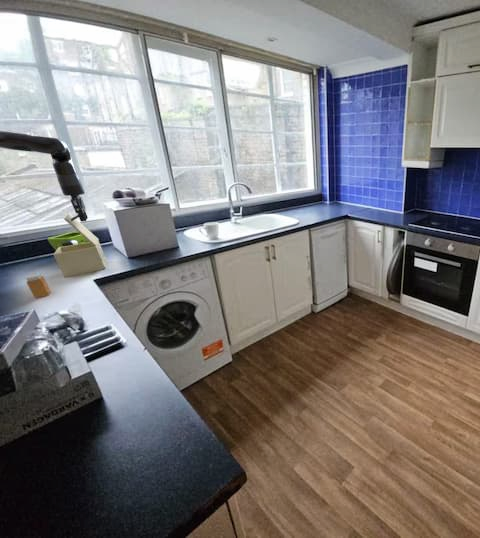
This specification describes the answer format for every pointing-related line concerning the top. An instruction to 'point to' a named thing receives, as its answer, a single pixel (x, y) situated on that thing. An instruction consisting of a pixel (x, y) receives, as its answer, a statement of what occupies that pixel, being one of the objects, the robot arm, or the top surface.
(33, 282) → the orange block
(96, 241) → the lid
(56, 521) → the top surface
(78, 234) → the green angular block
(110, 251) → the top surface
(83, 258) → the bin
